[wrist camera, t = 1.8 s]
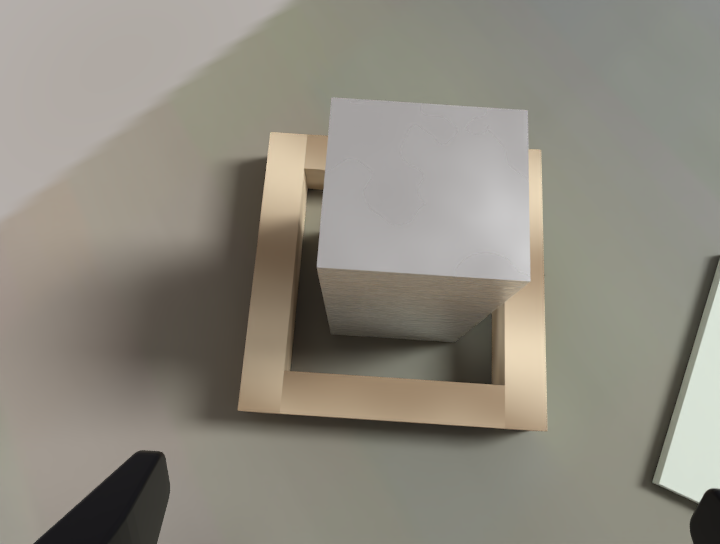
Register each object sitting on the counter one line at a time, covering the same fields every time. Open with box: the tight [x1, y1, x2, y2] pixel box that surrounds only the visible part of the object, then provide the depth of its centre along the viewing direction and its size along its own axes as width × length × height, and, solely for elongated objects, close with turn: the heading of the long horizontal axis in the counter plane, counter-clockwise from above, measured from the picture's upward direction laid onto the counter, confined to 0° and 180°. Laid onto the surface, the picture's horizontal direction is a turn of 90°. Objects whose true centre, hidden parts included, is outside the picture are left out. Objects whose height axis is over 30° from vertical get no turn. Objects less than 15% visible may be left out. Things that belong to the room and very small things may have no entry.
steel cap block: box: [317, 97, 530, 342], centre depth 19 cm, size 4×5×10 cm
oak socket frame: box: [238, 132, 547, 431], centre depth 22 cm, size 11×11×2 cm
